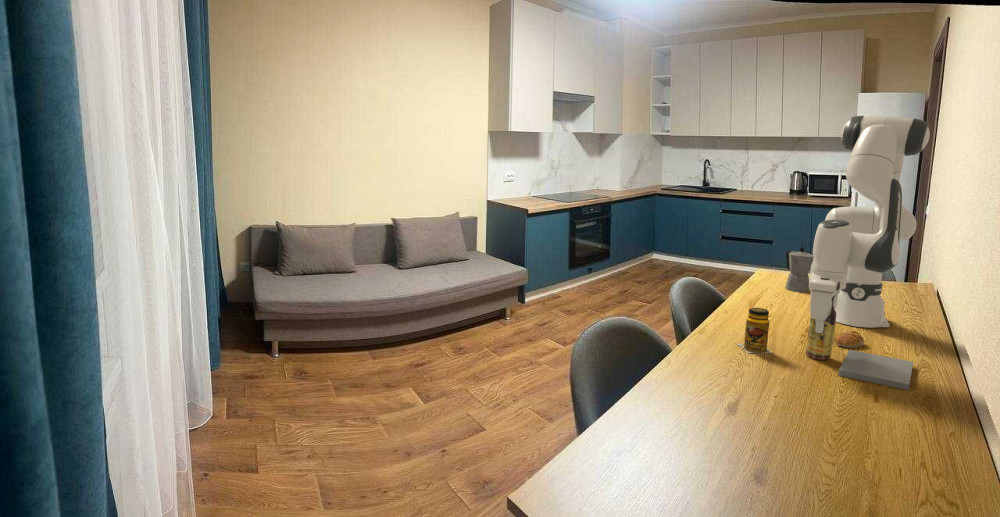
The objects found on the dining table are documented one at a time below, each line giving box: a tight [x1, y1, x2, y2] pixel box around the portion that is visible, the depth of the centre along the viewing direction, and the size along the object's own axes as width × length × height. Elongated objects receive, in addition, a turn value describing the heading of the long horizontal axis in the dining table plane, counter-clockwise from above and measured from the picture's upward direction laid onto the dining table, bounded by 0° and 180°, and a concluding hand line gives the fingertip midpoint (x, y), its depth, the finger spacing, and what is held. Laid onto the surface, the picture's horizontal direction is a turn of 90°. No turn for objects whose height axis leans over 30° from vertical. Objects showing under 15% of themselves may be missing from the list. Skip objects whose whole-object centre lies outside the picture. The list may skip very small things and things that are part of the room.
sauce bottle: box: [805, 295, 836, 361], centre depth 163 cm, size 7×6×20 cm
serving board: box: [837, 349, 914, 391], centre depth 155 cm, size 20×15×2 cm
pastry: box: [835, 330, 866, 349], centre depth 176 cm, size 9×7×4 cm
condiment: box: [735, 307, 774, 354], centre depth 170 cm, size 7×8×12 cm
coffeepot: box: [784, 246, 813, 293], centre depth 246 cm, size 15×9×18 cm, turn 12°
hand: (821, 329), depth 163 cm, fingers open, 6 cm apart
